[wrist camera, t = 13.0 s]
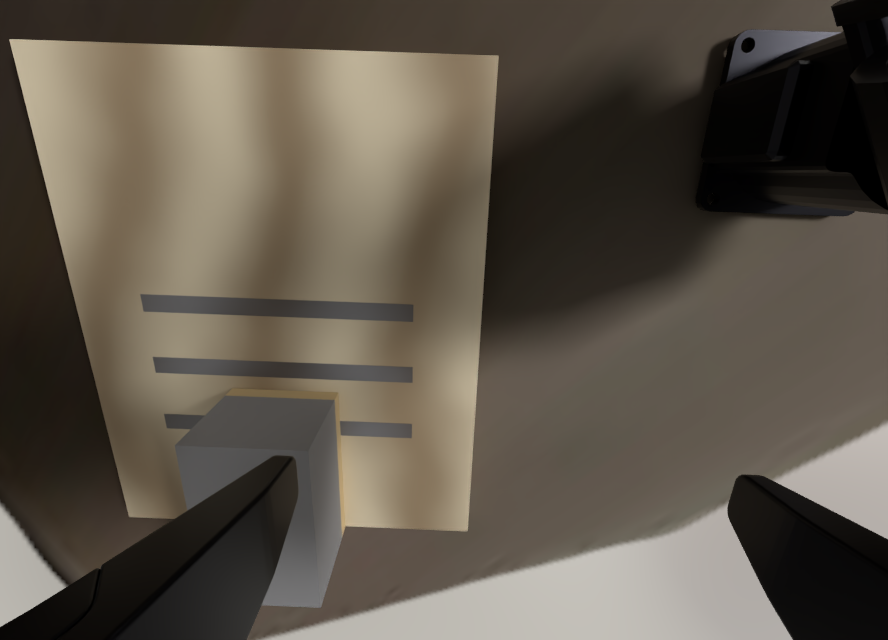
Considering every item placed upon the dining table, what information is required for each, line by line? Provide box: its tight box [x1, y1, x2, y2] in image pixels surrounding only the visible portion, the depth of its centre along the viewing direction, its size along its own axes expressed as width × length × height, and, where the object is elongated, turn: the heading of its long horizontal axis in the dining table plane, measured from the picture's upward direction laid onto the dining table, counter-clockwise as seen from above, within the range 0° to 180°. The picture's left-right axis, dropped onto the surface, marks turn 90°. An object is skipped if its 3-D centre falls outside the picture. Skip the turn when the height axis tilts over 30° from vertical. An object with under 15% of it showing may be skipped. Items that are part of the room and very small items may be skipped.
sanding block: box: [175, 388, 345, 608], centre depth 20 cm, size 5×8×4 cm, turn 178°
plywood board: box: [9, 39, 498, 531], centre depth 20 cm, size 18×22×1 cm
